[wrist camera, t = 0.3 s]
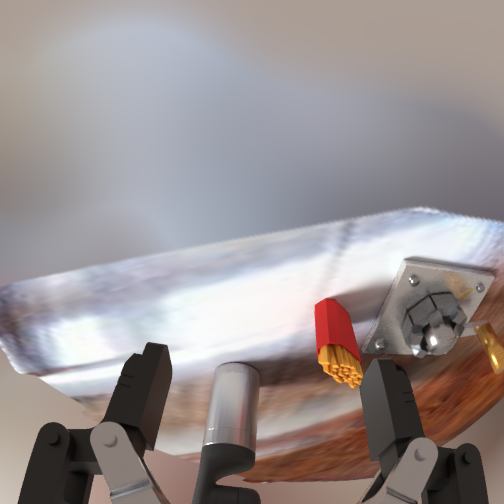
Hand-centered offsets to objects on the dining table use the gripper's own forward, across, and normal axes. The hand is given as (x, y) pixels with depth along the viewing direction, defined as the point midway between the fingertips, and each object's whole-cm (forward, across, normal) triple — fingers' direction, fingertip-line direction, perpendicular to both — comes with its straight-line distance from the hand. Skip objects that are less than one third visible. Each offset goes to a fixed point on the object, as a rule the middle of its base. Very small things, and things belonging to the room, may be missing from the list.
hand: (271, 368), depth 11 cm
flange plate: (+29, +30, -23) cm, 48 cm away
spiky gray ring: (+27, +33, -23) cm, 49 cm away
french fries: (+29, +12, -24) cm, 40 cm away
